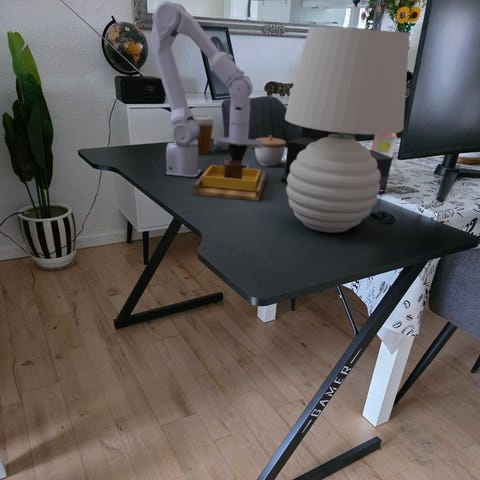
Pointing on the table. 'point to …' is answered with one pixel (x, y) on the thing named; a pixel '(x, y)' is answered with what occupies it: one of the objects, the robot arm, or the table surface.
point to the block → (232, 169)
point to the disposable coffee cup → (204, 133)
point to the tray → (248, 181)
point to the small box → (382, 168)
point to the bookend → (302, 145)
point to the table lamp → (344, 121)
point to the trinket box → (270, 151)
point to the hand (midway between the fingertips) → (236, 171)
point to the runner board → (230, 190)
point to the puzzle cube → (384, 143)
